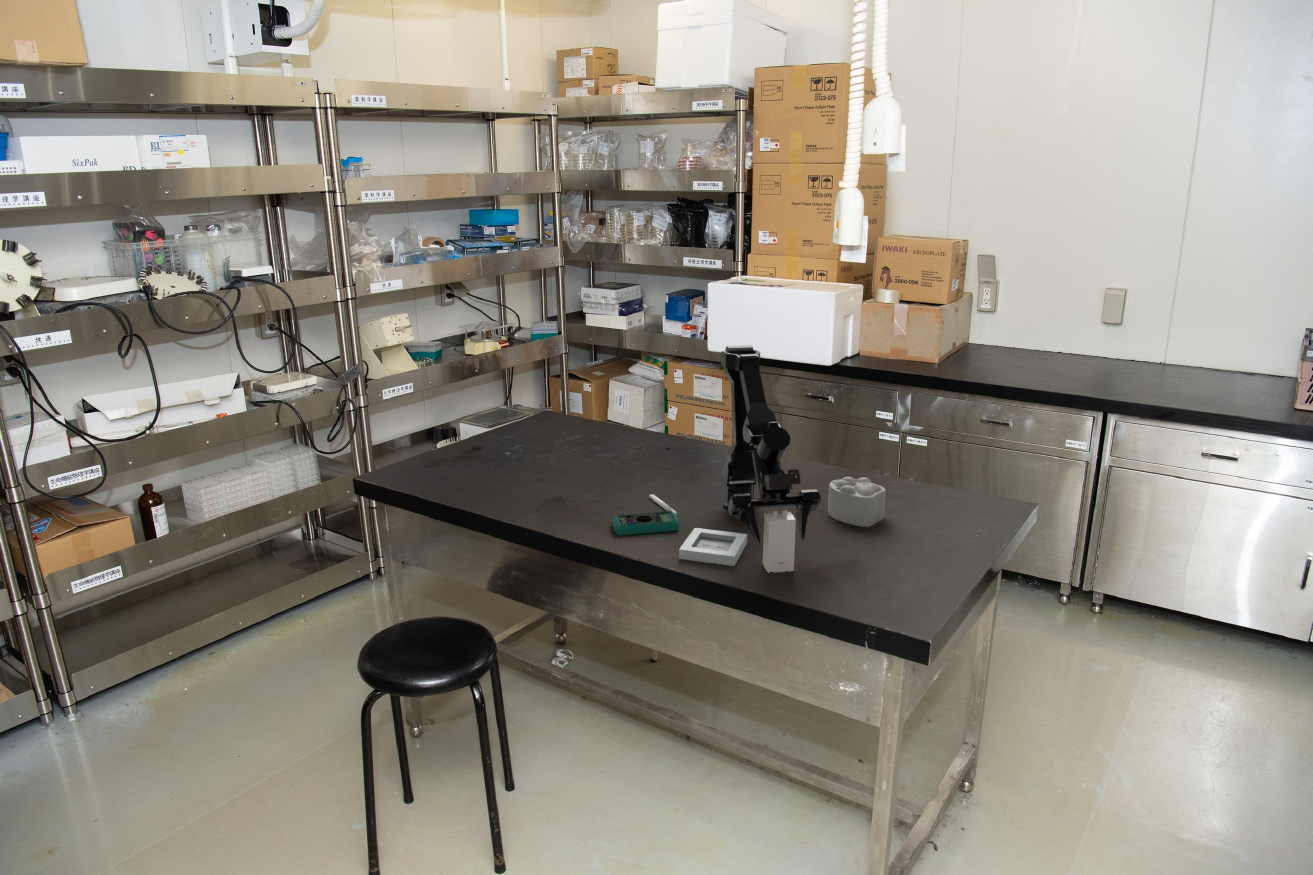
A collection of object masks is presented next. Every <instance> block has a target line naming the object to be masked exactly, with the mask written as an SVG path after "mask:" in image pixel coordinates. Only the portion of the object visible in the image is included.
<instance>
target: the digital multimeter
mask: <svg viewBox="0 0 1313 875" xmlns="http://www.w3.org/2000/svg"><path fill="white" fill-rule="evenodd" d="M612 525H613V527H612V529H613V531H614V533H615V534H616V535H618V536H630V535H639V534H651V533H665V532H678V531H679V530H680V522H679V519H678V516H677V515H675V514H674V512H672V511H666V510H664V511H654V512H644V513H643V512H642V513H631V514H616V515H615V516H614V517H613V518H612Z"/></svg>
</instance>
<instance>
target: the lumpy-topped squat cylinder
mask: <svg viewBox="0 0 1313 875" xmlns="http://www.w3.org/2000/svg"><path fill="white" fill-rule="evenodd" d="M886 491H887V490H886V488H885V487H884V486H882V485H879V484H877V483H873V482H872V480H870V478H868V477H866V476H865V477H864V476H863V477H859V478H854V477H851V476H845V477H843V478H841V479H839V478H837V479H835V480H833V479H832V480H831V481H830V483H829V484H828V501H827V514H828V516H830V517H831V518H833V519H834V520H835V521H836V520H837V521H839V522H842V523H843V524H848V525H852V526H857V527H861V528H863V527H864V528H868V527H871V526H874V525H875V524H876V523H878V522H880V521H883V520H884V518H885V507H886V494H887V492H886Z"/></svg>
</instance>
